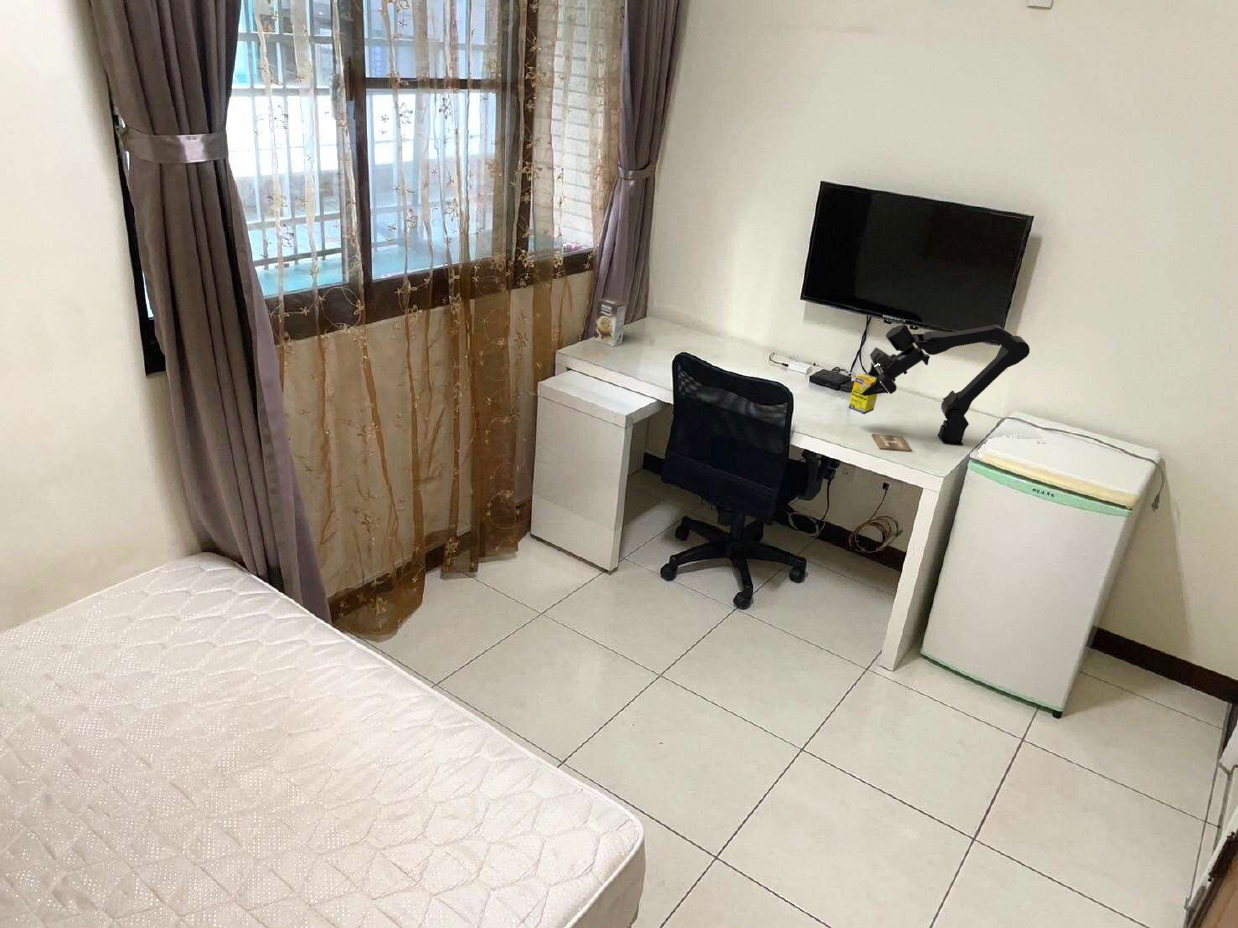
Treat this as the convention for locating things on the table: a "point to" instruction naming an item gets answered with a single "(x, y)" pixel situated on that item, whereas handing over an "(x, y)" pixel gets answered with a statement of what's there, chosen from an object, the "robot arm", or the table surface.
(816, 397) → the table surface
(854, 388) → the supplement box
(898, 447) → the pad
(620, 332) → the coffee box
